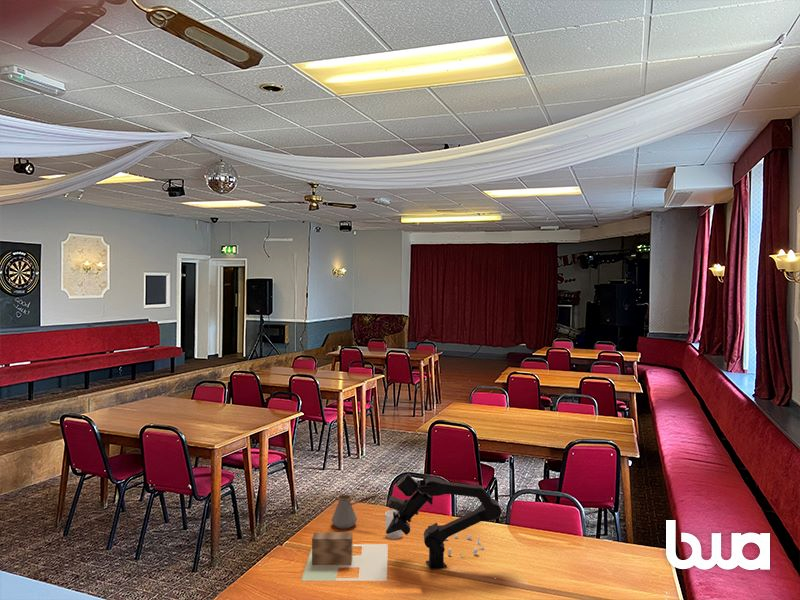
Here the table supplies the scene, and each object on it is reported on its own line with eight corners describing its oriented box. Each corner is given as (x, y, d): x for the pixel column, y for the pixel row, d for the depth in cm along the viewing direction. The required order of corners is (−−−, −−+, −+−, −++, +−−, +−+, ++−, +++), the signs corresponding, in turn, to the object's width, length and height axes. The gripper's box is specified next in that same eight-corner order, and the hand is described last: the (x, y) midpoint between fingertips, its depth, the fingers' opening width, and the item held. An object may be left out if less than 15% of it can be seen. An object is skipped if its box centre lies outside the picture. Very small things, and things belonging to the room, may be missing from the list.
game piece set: (492, 553, 238) (492, 544, 237) (448, 562, 230) (448, 552, 230) (469, 534, 256) (469, 526, 255) (428, 542, 248) (428, 533, 248)
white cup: (395, 541, 248) (395, 518, 247) (381, 536, 252) (381, 513, 252) (406, 535, 254) (407, 512, 254) (392, 530, 259) (392, 508, 258)
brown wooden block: (352, 557, 230) (352, 532, 229) (351, 564, 224) (351, 539, 223) (314, 557, 230) (314, 532, 229) (311, 564, 224) (311, 539, 223)
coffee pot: (328, 529, 260) (328, 496, 259) (335, 519, 271) (335, 487, 271) (374, 533, 255) (374, 499, 255) (380, 523, 267) (380, 490, 266)
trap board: (387, 547, 242) (387, 544, 242) (386, 584, 212) (386, 580, 212) (312, 547, 242) (312, 544, 241) (301, 584, 212) (301, 580, 211)
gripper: (398, 481, 235) (371, 509, 235) (400, 499, 216) (371, 530, 217) (418, 499, 236) (391, 527, 236) (422, 519, 217) (393, 549, 217)
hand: (386, 532), depth 226 cm, fingers closed
